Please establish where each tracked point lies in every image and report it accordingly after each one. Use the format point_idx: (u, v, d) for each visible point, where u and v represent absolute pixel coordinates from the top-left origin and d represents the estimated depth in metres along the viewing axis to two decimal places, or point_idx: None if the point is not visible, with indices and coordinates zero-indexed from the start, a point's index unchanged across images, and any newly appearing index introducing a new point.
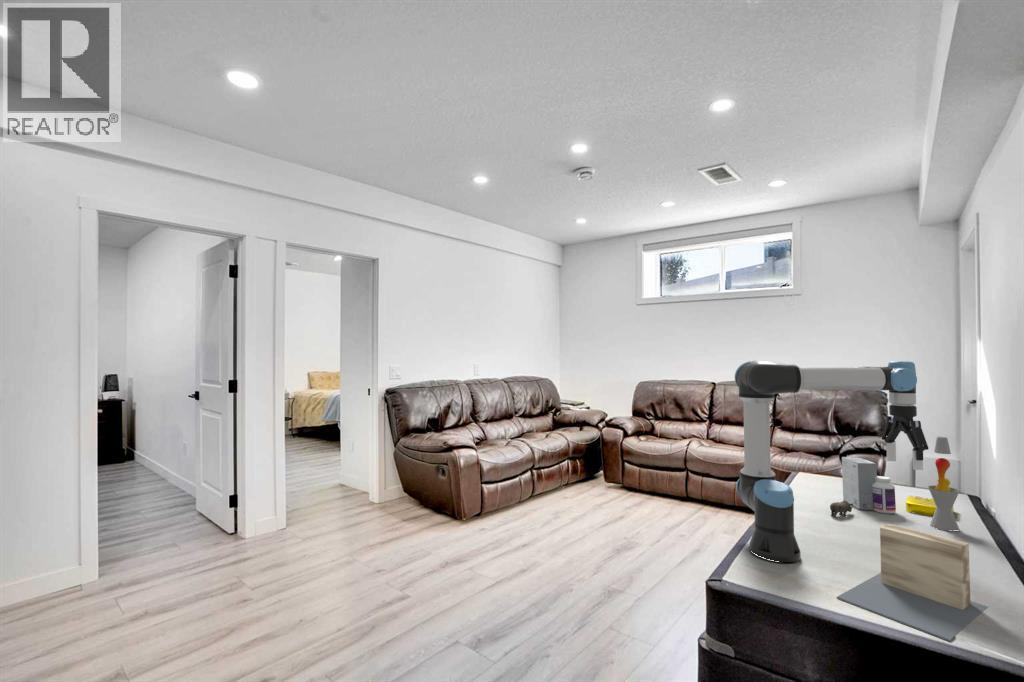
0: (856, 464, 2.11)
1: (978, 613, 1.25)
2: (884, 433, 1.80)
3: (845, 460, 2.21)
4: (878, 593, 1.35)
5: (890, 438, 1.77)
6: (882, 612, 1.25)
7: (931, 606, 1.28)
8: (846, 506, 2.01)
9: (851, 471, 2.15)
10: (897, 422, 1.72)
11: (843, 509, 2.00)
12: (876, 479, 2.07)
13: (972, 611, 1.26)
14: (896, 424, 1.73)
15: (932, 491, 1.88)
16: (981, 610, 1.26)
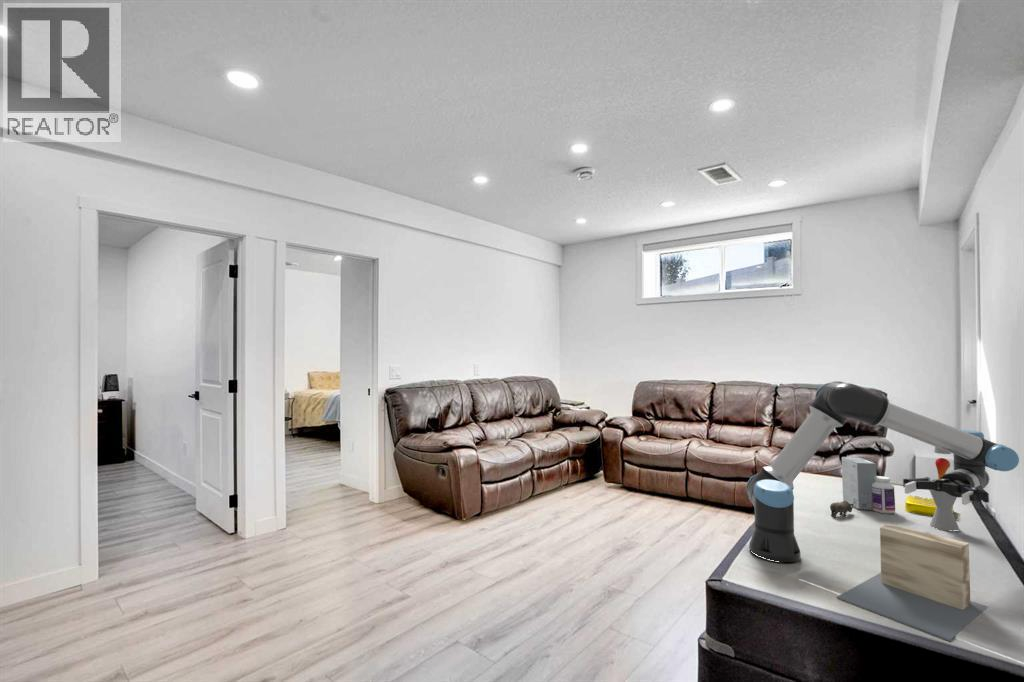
0: (855, 464, 2.11)
1: (978, 613, 1.25)
2: (912, 479, 1.54)
3: (845, 460, 2.21)
4: (878, 593, 1.35)
5: (920, 483, 1.51)
6: (882, 612, 1.25)
7: (931, 606, 1.28)
8: (846, 506, 2.01)
9: (850, 471, 2.16)
10: (949, 481, 1.50)
11: (843, 509, 2.00)
12: (875, 479, 2.07)
13: (972, 611, 1.26)
14: (946, 481, 1.50)
15: (932, 491, 1.88)
16: (981, 610, 1.26)
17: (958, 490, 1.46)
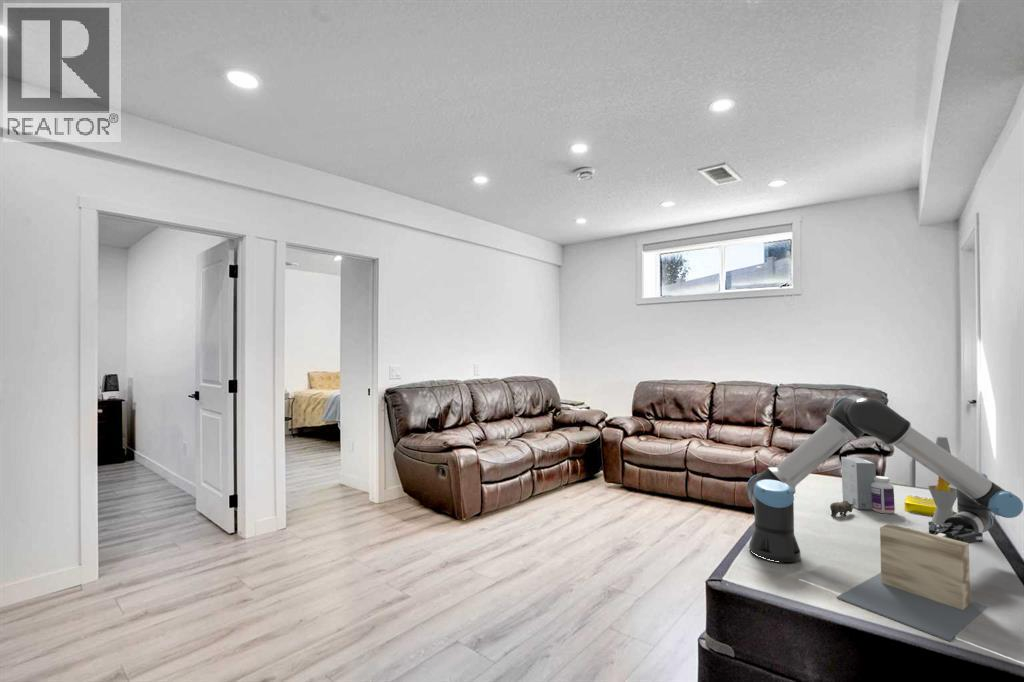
0: (855, 464, 2.11)
1: (978, 613, 1.25)
2: (932, 528, 1.48)
3: (844, 460, 2.21)
4: (878, 593, 1.35)
5: (943, 533, 1.45)
6: (882, 612, 1.25)
7: (931, 606, 1.28)
8: (846, 506, 2.01)
9: (850, 471, 2.16)
10: None
11: (843, 509, 1.99)
12: (875, 479, 2.07)
13: (972, 611, 1.26)
14: (952, 525, 1.49)
15: (932, 491, 1.88)
16: (981, 610, 1.26)
17: None
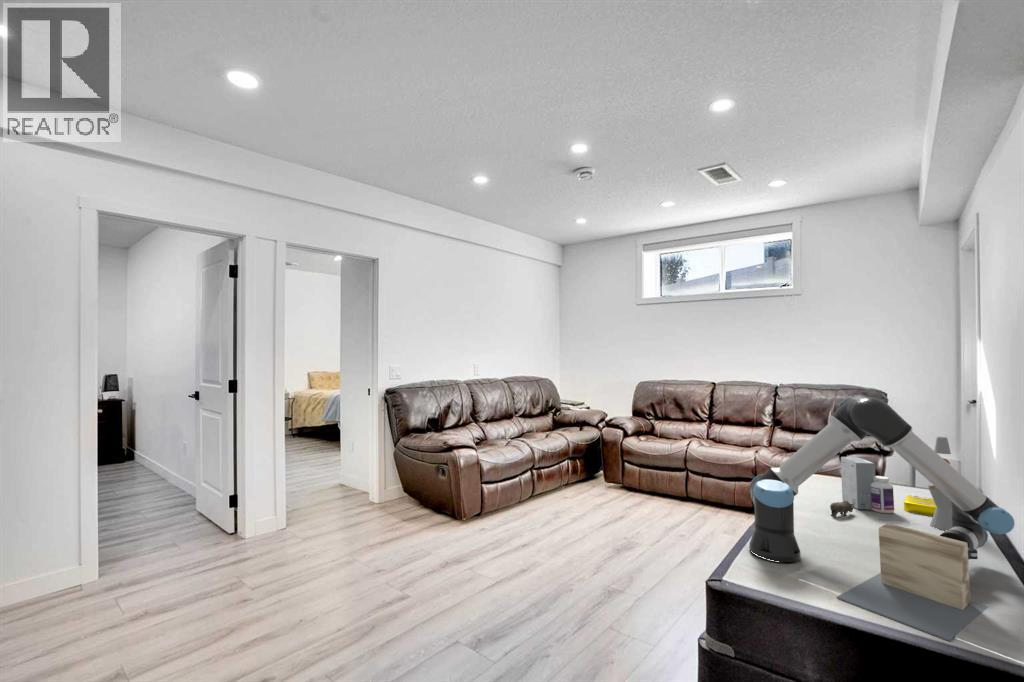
0: (854, 464, 2.11)
1: (978, 613, 1.25)
2: None
3: (844, 460, 2.21)
4: (878, 593, 1.35)
5: None
6: (882, 612, 1.25)
7: (931, 606, 1.28)
8: (846, 506, 2.01)
9: (849, 471, 2.16)
10: None
11: (843, 509, 1.99)
12: (874, 479, 2.08)
13: (972, 611, 1.26)
14: None
15: (932, 491, 1.88)
16: (981, 610, 1.26)
17: None
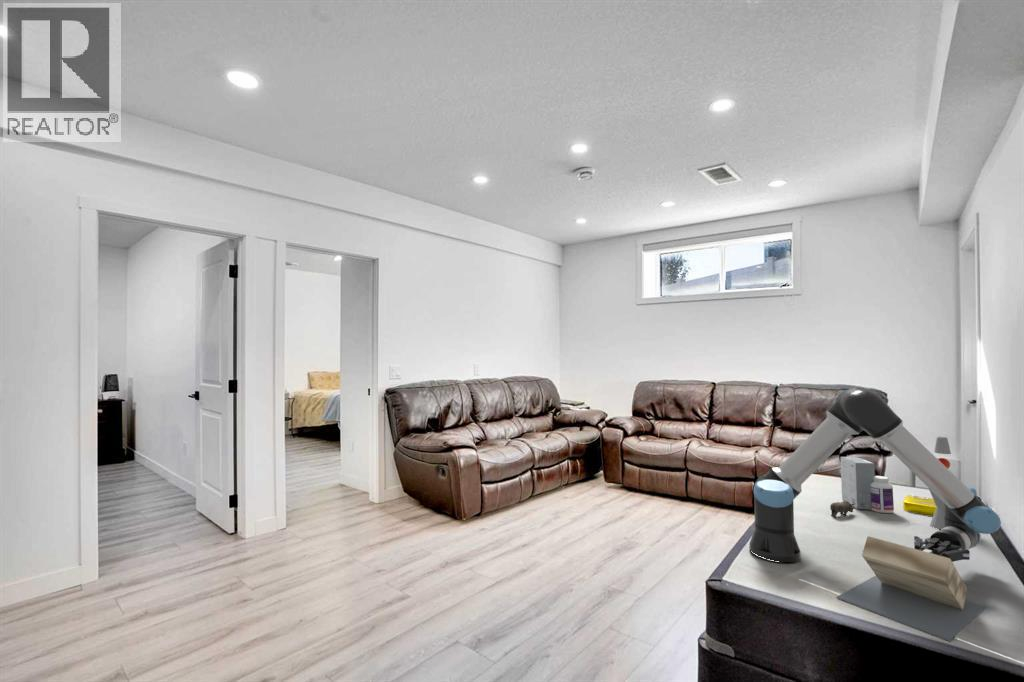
0: (854, 464, 2.11)
1: (978, 613, 1.25)
2: (918, 543, 1.42)
3: (843, 460, 2.21)
4: (878, 593, 1.35)
5: (929, 549, 1.39)
6: (882, 612, 1.25)
7: (931, 606, 1.28)
8: (847, 506, 2.01)
9: (849, 471, 2.16)
10: None
11: (843, 509, 1.99)
12: (874, 479, 2.08)
13: (972, 611, 1.26)
14: (938, 541, 1.44)
15: None
16: (981, 610, 1.26)
17: None
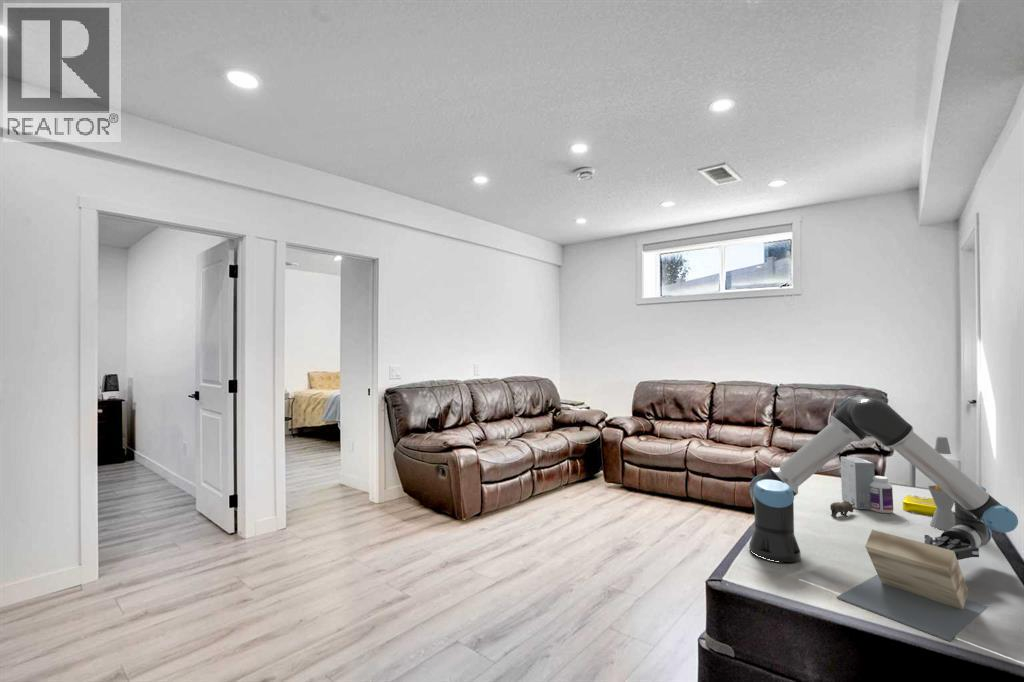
0: (853, 464, 2.12)
1: (978, 613, 1.25)
2: (928, 541, 1.46)
3: (843, 460, 2.21)
4: (878, 593, 1.35)
5: None
6: (882, 612, 1.25)
7: (931, 606, 1.28)
8: (847, 506, 2.01)
9: (848, 471, 2.16)
10: None
11: (843, 509, 1.99)
12: (873, 479, 2.08)
13: (972, 611, 1.26)
14: (948, 539, 1.47)
15: (932, 491, 1.88)
16: (981, 610, 1.26)
17: None
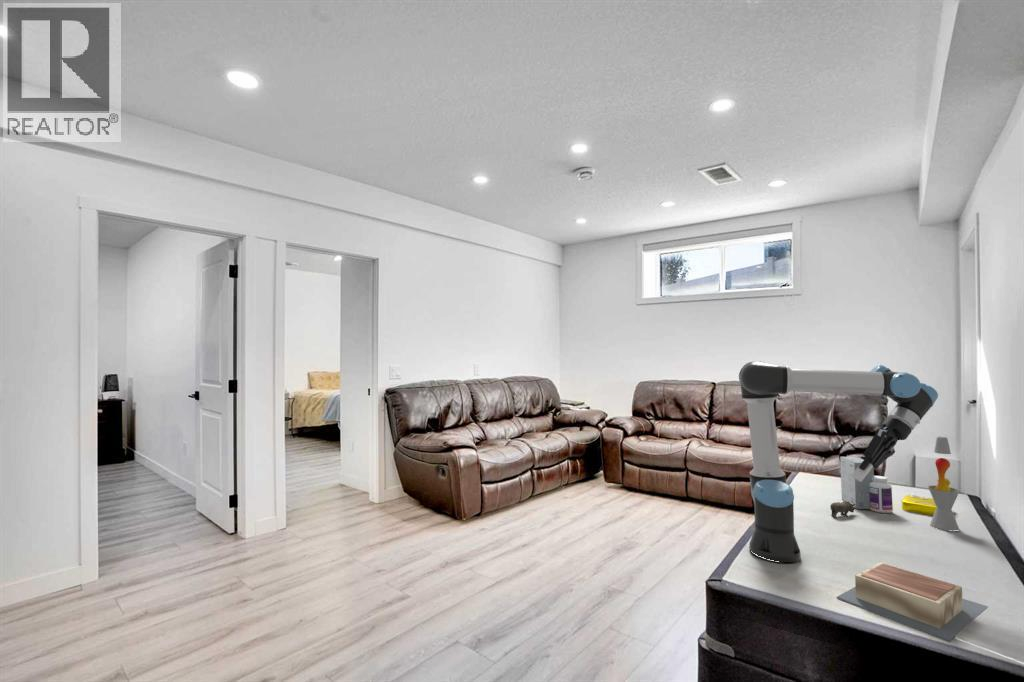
0: (853, 463, 2.12)
1: (978, 613, 1.25)
2: None
3: (843, 460, 2.22)
4: None
5: None
6: (882, 612, 1.25)
7: None
8: (847, 506, 2.00)
9: (848, 471, 2.17)
10: None
11: (843, 509, 1.99)
12: (873, 478, 2.08)
13: (972, 611, 1.26)
14: None
15: (932, 491, 1.88)
16: (981, 610, 1.26)
17: None
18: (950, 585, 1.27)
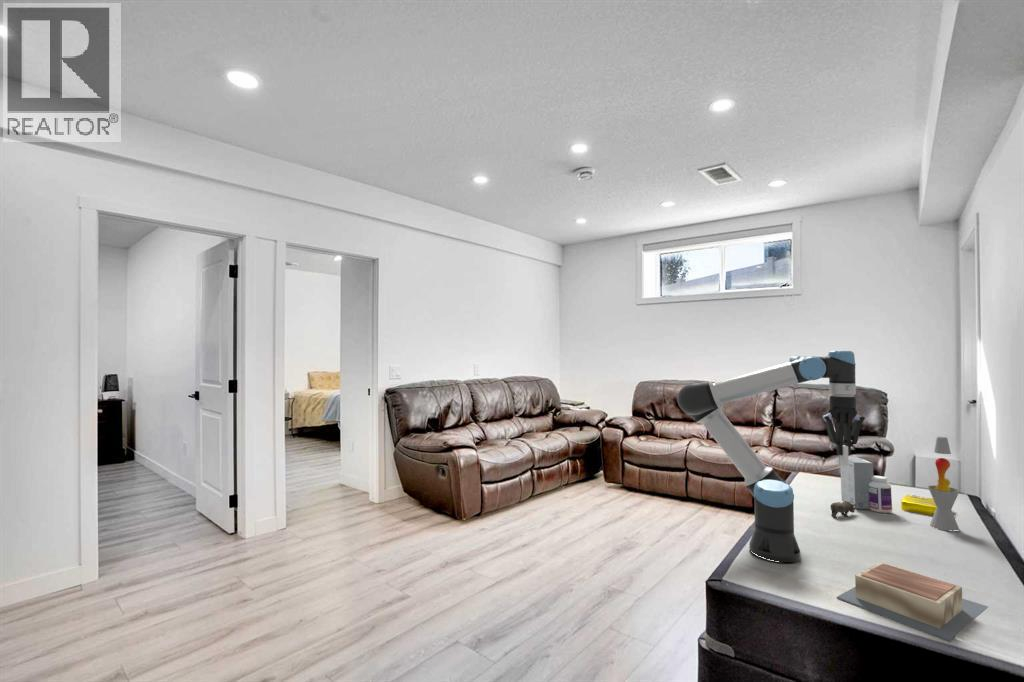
0: (852, 463, 2.12)
1: (978, 613, 1.25)
2: None
3: None
4: None
5: (844, 437, 1.67)
6: (882, 612, 1.25)
7: None
8: (847, 506, 2.00)
9: (848, 471, 2.17)
10: None
11: (844, 509, 1.99)
12: (872, 478, 2.08)
13: (972, 611, 1.26)
14: None
15: (932, 491, 1.88)
16: (981, 610, 1.26)
17: None
18: (950, 585, 1.27)
